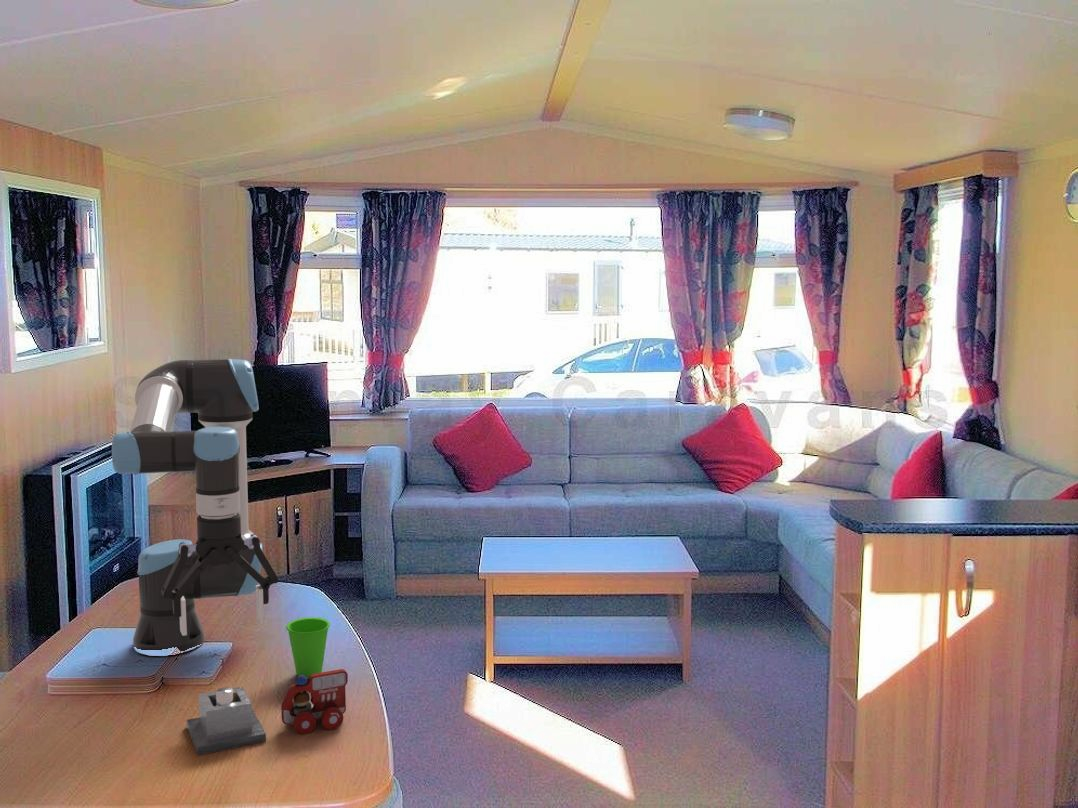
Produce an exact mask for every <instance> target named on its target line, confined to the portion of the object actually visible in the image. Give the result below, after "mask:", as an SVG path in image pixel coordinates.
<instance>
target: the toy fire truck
mask: <svg viewBox="0 0 1078 808" xmlns="http://www.w3.org/2000/svg"><path fill="white" fill-rule="evenodd" d="M348 678H349V677H348V672H347V671H346V670H345V669H344V668H340V669H334V670H333V669H332V670H328V671H327V670H326V671H322V672H321V673H315V674H311V675H310V676H309V678H308V679H307V678H306V677H305V676H304V675H299V676H296V678H295V683H293V684H291V685H290V686H289V687H288V690H287V692H286V694H285V697H284V698H283V700H282V702H281V704H280V705H281V706H280V709H281V710H280V711H281V715H280V716H281V722H282V723H283V724H284V725H286V726H288V725H293V728H294V730H295V731H296V732H297V733H298V734H301V735H306V734H310V733H311V732H312V731H313V730H314V729H315V727H316V726H317V721H316V720H320V722H321V724H322V726H323V727H324V728H325V729H326V730H331V731H333V730H335V729H338V728H339V727H340V726H341V725H342V724H343V723H344V722H343V721H344V714H345V713H346V710H347V702H346V701H347V700H346V699H347V698H346V692H347V691H346V685H347V684H348V681H349V679H348ZM311 703H312V704H311ZM312 705H313V707H312Z"/></svg>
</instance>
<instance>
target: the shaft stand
mask: <svg viewBox="0 0 1078 808" xmlns="http://www.w3.org/2000/svg"><path fill="white" fill-rule="evenodd" d="M232 688H233V687H228V686H226V687H220V688H218V689H217V690H215V691H216V706H219V705H225V704H230V703H235V702H236V691H233V689H232ZM186 728H187V732H188V734H189V736H190V739H191V740H192V741H191V742H192V744H193V746H194V749H195V752H196V754H197V756H202V755H207V754H210V753H217V752H221V751H225V750H230V749H235V748H241V747H245V746H249V745H250V746H251V745H255V744H258V743H259V742H260V743H264V741H265V742H266V741H267V732H266V731H265V728H264V727H263V726H262V723H260V720H259V719H258V716H257V715H256V713H255V711H254V709H253V708H252V732H247V733H242V734H237V735H232V736H227V737H222V738H217V739H212V740H207V739H206V736H205V734H204V731H203V729H202V727H201V724H200V720H199V717H195V718H189V719H186ZM260 743H259V744H260Z"/></svg>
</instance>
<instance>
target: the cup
mask: <svg viewBox="0 0 1078 808" xmlns="http://www.w3.org/2000/svg"><path fill="white" fill-rule="evenodd" d="M330 626H331V623H330V621H329V620H327V619H325V618H324V617H323V618H321V617H316V616H315V617H311V616H310V617H302V618H297V619H294V620H291V621H290V622H288V623H287V624H286V627H285V629H286V630H287V631H288V638H289V642H290V647H291V652H292V656H293V658H292V659H293V662H294V668H295V672H296V673H295V674H296V675H297V676H296V677H298V676H299V675H304V676H305V677H306V678H307V680H308V678H309V676H310V675H311V674H315V673H321V672H323V665H324V659H325V652H326V644H327V637H328V630H329V628H330Z"/></svg>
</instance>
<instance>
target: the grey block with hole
mask: <svg viewBox="0 0 1078 808" xmlns="http://www.w3.org/2000/svg"><path fill="white" fill-rule="evenodd" d="M231 688H232V689H233V691H236V702H235V703H230V704H225V705H219V706H216V691H217V690H214V691H209V692H204V693H198V712H199V717H198V718H199V720H200V724H201V727H202V729H203V731H204V734H205V736H206V739H207V740H212V739H217V738H222V737H227V736H232V735H237V734H242V733H247V732H252V709H253V707H252V706H253V705H252V704H253V703H252V701H251V699H250V697H249V696H248V693H247V692H246V691H245V689H244V687H243V686H237V687H231Z"/></svg>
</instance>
